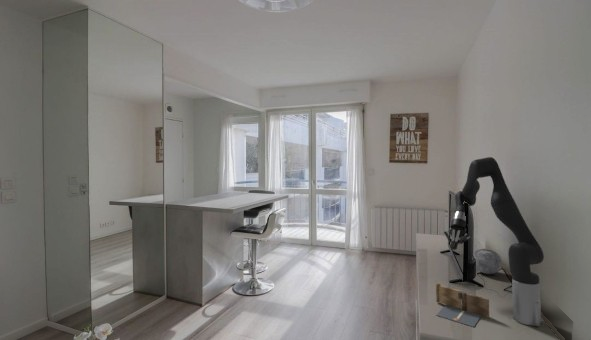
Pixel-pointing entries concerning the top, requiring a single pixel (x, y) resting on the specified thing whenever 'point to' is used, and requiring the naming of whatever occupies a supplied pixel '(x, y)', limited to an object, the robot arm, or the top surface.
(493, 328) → the top surface
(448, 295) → the fence gate
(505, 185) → the robot arm
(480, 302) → the fence fixed
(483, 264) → the decorative orb
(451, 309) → the board
